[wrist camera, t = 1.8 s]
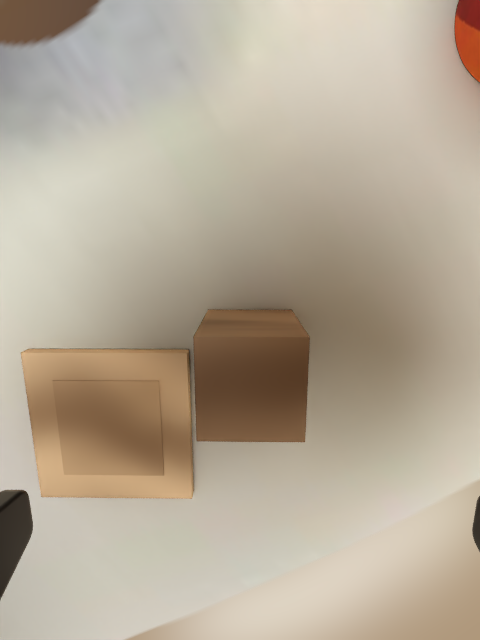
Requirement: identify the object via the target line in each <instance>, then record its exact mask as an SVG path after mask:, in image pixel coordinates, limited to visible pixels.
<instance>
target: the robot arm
mask: <svg viewBox="0 0 480 640" xmlns="http://www.w3.org/2000/svg"><path fill="white" fill-rule="evenodd" d="M32 530H33V521H32V515H31V508H30V501H29V496H28V494H27V492H26V491H24V490H4V491H1V492H0V600H1V597H2V595H3V593H4V591H5V589H6V587H7V585H8V583H9V581H10V579H11V577H12V575H13V573H14V571H15V569H16V567H17V564H18V562H19V560H20V558H21V556H22V554H23V552H24V550H25V548H26V546H27V544H28V542H29V540H30V537H31V534H32ZM473 537H474V541H475V543H476V545H477V547H478V549H479V551H480V496H479V498H478V500H477V504H476V511H475V516H474V523H473Z"/></svg>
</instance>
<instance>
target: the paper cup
mask: <svg viewBox="0 0 480 640" xmlns="http://www.w3.org/2000/svg"><path fill="white" fill-rule="evenodd" d="M455 39H456V45H457V49H458V52H459V55H460V58H461V60H462V62H463V64H464V66H465V67H466V69H467V70H468V71H469V73H470V74H471V75H472V76H473V77H474V78H475V79H476V80H477V81H478V82H480V0H459V2H458V6H457V10H456V16H455Z"/></svg>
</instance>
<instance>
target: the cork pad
mask: <svg viewBox="0 0 480 640" xmlns="http://www.w3.org/2000/svg"><path fill="white" fill-rule="evenodd" d="M21 358H22V365H23V372H24V379H25V386H26V393H27V400H28V407H29V414H30V421H31V428H32V435H33V442H34V449H35V456H36V463H37V470H38V477H39V484H40V491H41V497H91V498H188V499H192V496H193V491H194V486H193V457H192V428H191V399H190V369H189V350H173V349H27V350H25V351H23V352H21Z"/></svg>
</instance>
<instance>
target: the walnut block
mask: <svg viewBox="0 0 480 640" xmlns="http://www.w3.org/2000/svg"><path fill="white" fill-rule="evenodd" d="M193 339H194V372H195V405H196V437H197V441H231V442H305V432H306V409H307V386H308V364H309V341H310V337H309V335H308V334H307V332H306V331H305V329H304V328H303V326H302V325H301V323H300V322H299V320H298V319H297V317H296V316H295V314H294V313H293V311H292V310H208V311H207V313H206V315H205V317H204V318H203V320H202V322H201V324H200V326H199V328H198V329H197V331H196V333H195V335H194V337H193Z"/></svg>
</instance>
